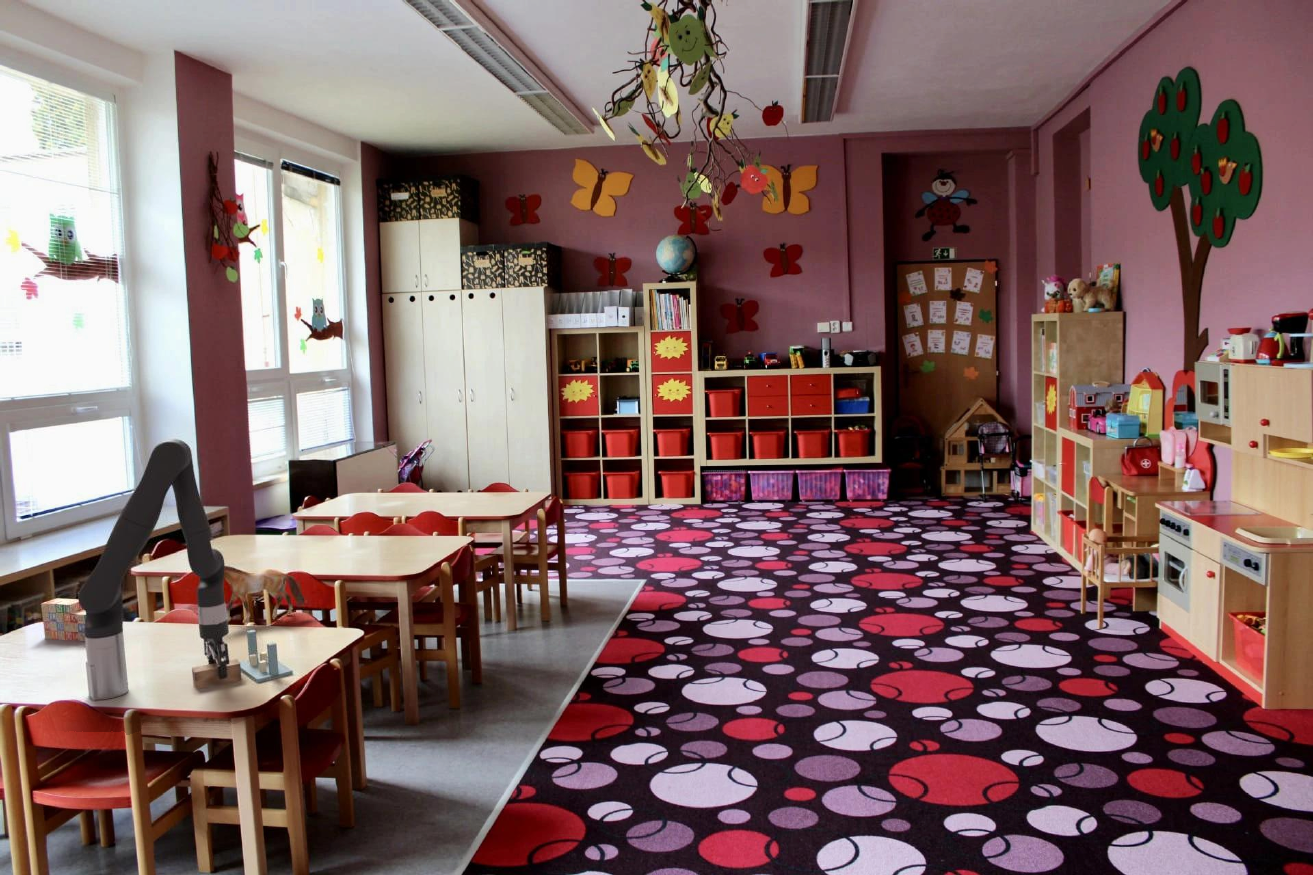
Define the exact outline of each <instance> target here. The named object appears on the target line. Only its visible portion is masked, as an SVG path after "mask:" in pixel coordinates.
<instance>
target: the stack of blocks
mask: <svg viewBox="0 0 1313 875" xmlns="http://www.w3.org/2000/svg"><path fill="white" fill-rule="evenodd" d="M40 605H41V615H42V622H43V632H44V638H45V639H51V640H62V641H76V642H77V641H78V642H85V633H84V627H85V622H86V611H85V610H83V609H82V607H81V606H80V604H79V600H78V599H76V598H75V599H74V598H72V599H71V598H59V597H58V598H54V599H51V600H48V601H44V602H42V603H40Z"/></svg>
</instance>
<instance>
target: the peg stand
mask: <svg viewBox="0 0 1313 875" xmlns="http://www.w3.org/2000/svg"><path fill="white" fill-rule="evenodd" d="M246 638H247V647H248V649H247V650H248V652H247V653H248V660H245V661H241V662H240V661H239V662H240V666H241V673H244V675H246V676H247V677H249V679H252V680H253V681H254V682H256V683H263V682H266V681H270V680H275V679H278V678H283V677H287V676H290V675H293V674H294V672H293V670H292V669H291V668H289V667H287V666H286V665H285V664H284V663H281V662H280V661H278V648H277V642H275V641H274V642H268V643H266V650H267V652H266V651H262V652H258V641H257V631H256V630H254V629H250V630H247V631H246ZM258 654H259V655H258Z"/></svg>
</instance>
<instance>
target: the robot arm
mask: <svg viewBox="0 0 1313 875" xmlns="http://www.w3.org/2000/svg"><path fill="white" fill-rule="evenodd" d="M171 487H172V490H173V494H174V497H175V498H174V499H175V506H176V513H177V518H178V522H179V525H180V527H181V531H182V535H183V537H184V539H185V540H184V541H185V544H186V552H187V561H188V564H189V567H190V570H191V571H192V573H193V574H194V575H195V576H196V577H198V578H199V584H198V586H197V588H196V599H197V621H198V630H199V637H200V638H201V639H202V640H203V649H204V650H203V651H204V652H203V654H204V656H206V660H208V661H207V662H208V664H214V663H217V666H218V676H219V679H225V678H227V677H228V676H227V664H229V660H230V656H229V648H228V643H227V642H225V641H224V640H223V638H224V637H226V636H227V635H229V632H230V631H229V629H230V628H229V622H228V618H227V609H228V608H227V604H226V597H225V589H224V581H225V578H224V570H225V566H226V565H225V558H224V556H223V554H222V553H221V551H219V550H218V549H216V548H213V547H212V543H211V540H212V538H213V533H212V529H211V526H210V522H209V520H208V517H207V513H206V510H205V507H204V505H203V501H202V499H201V495H200V493H199V488H198V484H197V480H196V475H195V469H194V462H193V455H192V449H191V447H190V446H189V445H188V443H186V442H185V441H183V440H181V439H177V438H172V439H171V438H170V439H167V440H163V441H161V442H159V443H157V445H156V446H155V447H154V448H153V450H152V451H151V454H150V457H149V459H148V462H147V465H146V467H145V469H144V472H143V474H142V478H140V481H139V483H138V485H137V486H136V488H135V490H134V491H133V493H132V495H131V496H130V497H129V499H128V500H127V503H126V504H125V506H124V507H123V509H122V510H121V513H120V514H119V516H118V518H117V520H116V522H115V524H114V526H113V528H112V531H111V533H110V534H109V537H108V538H107V542H106V544H105V547H104V549H103V551H102V554H101V556H100V558H99V560H98V562H97V564H96V566H95V568H94V569H93V571H92V572H91V573H90V575H89V577H88V578H87V579H86V580H85V582H84V583H83V585H82V586H81V587H80V589H79V591H78V596H77V597H78V599H77V600H79V604H80V606H81V607H82V609H83V610H85V611H86V622H85V627H84V633H85V641H84V642H85V652H86V653H85V654H86V660H87V661H86V662H85V669H86V678H87V680H86V681H87V689H88V696H89V697H90V698H91V700H92V701H97V700H99V701H100V700H107V699H113V698H117V697H120V696H123V695H124V694H126V693H128V691H129V682H128V671H127V670H128V669H127V661H126V660H127V659H126V658H127V657H126V650H125V649H126V648H125V636H124V629H123V628H124V626H123V625H124V605H123V604H124V603H123V602H124V601H123V591H122V586H121V585H122V582H123V580H124V577H125V575H126V573H127V572H128V570H129V568H130V567H131V565H132V564H133V562H134V561H135V560H136V559H137V557H138V556H139V554H140V553H141V551H142V550H143V549H144V547H145V546H146V544H147V542H148V541H149V539H150V537H151V535H152V533H153V531H154V529H155V527H156V525H157V523H158V520H159V519H160V516H161V512H162V509H163V506H164V503H165V502H164V501H165V499H166V495H167V494H168V492H169V490H170V488H171Z"/></svg>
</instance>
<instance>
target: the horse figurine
mask: <svg viewBox="0 0 1313 875" xmlns="http://www.w3.org/2000/svg"><path fill="white" fill-rule="evenodd" d="M224 581H226V582H227V583H228V585H229V586H230V589H231V591H232V595H231V597H230V601H229V602H228V604H227V608H226V609H227V618H228V623H229V622H230V621H231V620H232V617H231V616H230V613H231V612H230V611H231V608H232V607H233V605H234V603H235V602H236V601H237V600H238V598H239V599H240V600H241V602H242V603H243V604H242V605H243V607H244V609H245V612H246V616H245V618H244V619H243V621H242V623H243V624H245V623H248V622H249V618H250V617H251V613H250V610H249V604H248V599H247V596H246V595H248V594H256V593H260V592H263V591H265V590H266V592H267V593H268V594H269V595H270V596H271V597H273V598H274V599H276V601H277V602H276V605H275V606H274V609H273V610H272V619H273V620H275V619H276V618H277V616H278V613H277V612H278V610H279V607H280V605H281V603H282V602H283V601H284V599H285V601H286V602H287V604H288V611H287V612H286V614H285V615H286V616H289V615H288V614H291V613H292V614H293V609H294V607H293V605H292V599H291V598H292V597H291V595H292V596H293V598H294V601H295V603H296V604H297V605H298V607H299V608H301V607H302V606H304V604H306V603H308V601H307V600H306V599H305V597H304V595H303V592H302V589H301V585H300V583H299V582H298V580H297V579H296V578H295V577H293V576H292V575H289V574H288V573H284V572H282V571H279V570H275V569H265V570H263V571H260V572H255V573H249V572H246V571H243V570H241V569H238V568H236V567H233V566H228V565H227V566H226V565H225V570H224ZM287 583H288V584H289V590H290V593H291V595H289V594H288V592H287V591H286V584H287ZM292 614H291V615H292Z"/></svg>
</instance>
